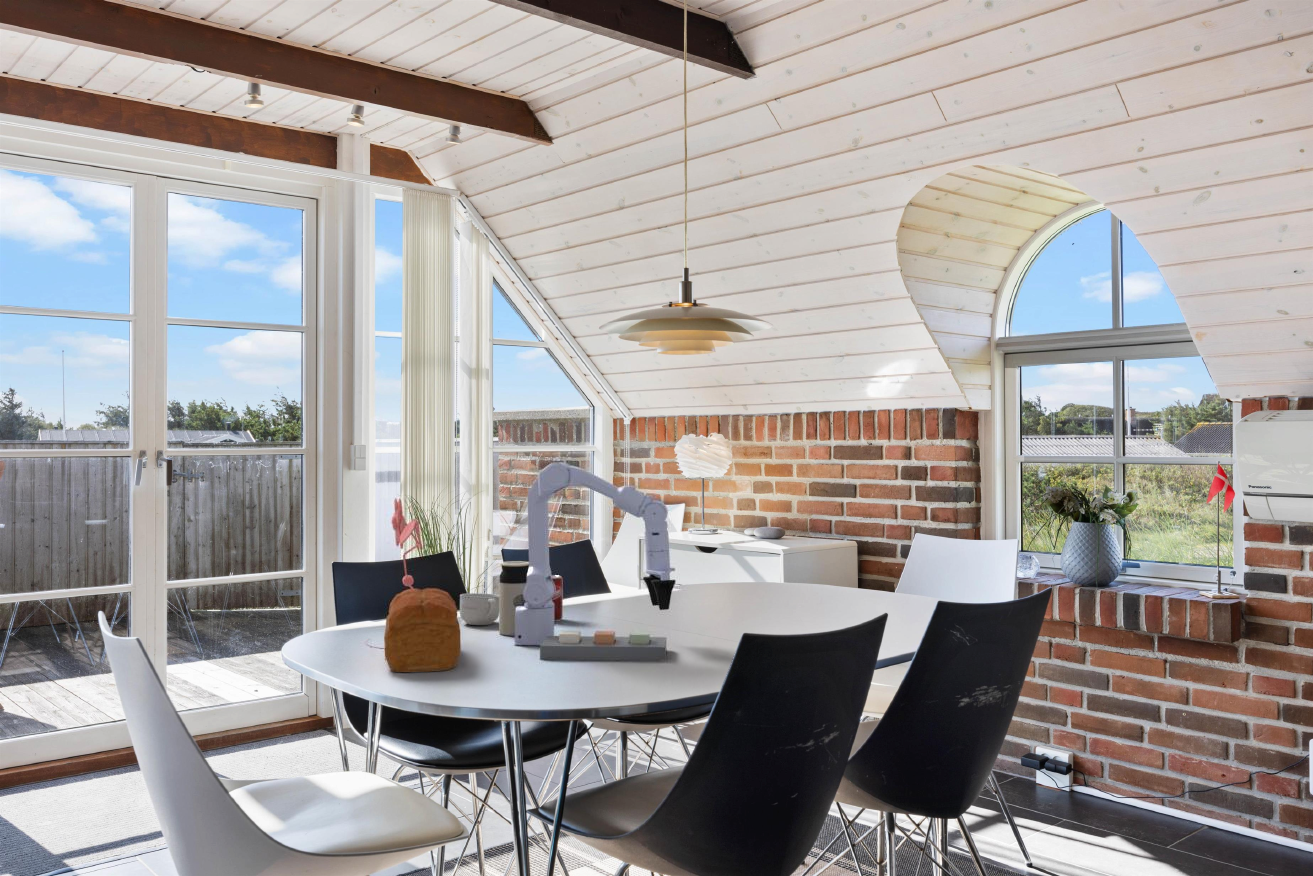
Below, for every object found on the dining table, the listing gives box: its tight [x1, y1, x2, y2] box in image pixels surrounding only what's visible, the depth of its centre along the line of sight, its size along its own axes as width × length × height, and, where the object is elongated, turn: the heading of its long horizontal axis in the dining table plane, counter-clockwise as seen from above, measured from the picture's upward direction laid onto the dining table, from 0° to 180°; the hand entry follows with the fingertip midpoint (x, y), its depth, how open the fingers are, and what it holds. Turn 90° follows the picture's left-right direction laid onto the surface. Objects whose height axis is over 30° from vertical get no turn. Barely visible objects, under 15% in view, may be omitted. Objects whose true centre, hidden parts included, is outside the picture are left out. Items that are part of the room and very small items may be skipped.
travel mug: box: [498, 560, 529, 637], centre depth 256 cm, size 8×8×18 cm
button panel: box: [539, 635, 667, 662], centre depth 230 cm, size 28×12×3 cm, turn 88°
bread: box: [383, 587, 462, 673], centre depth 224 cm, size 16×27×16 cm, turn 14°
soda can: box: [551, 574, 564, 623], centre depth 276 cm, size 7×7×12 cm
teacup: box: [459, 592, 499, 626], centre depth 268 cm, size 14×11×8 cm
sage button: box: [629, 630, 651, 644], centre depth 230 cm, size 4×4×3 cm
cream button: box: [558, 630, 582, 643], centre depth 230 cm, size 4×4×3 cm
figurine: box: [363, 497, 423, 650], centre depth 245 cm, size 15×26×35 cm, turn 19°
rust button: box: [593, 630, 616, 644], centre depth 230 cm, size 4×4×3 cm
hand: (660, 607), depth 241 cm, fingers open, 7 cm apart
